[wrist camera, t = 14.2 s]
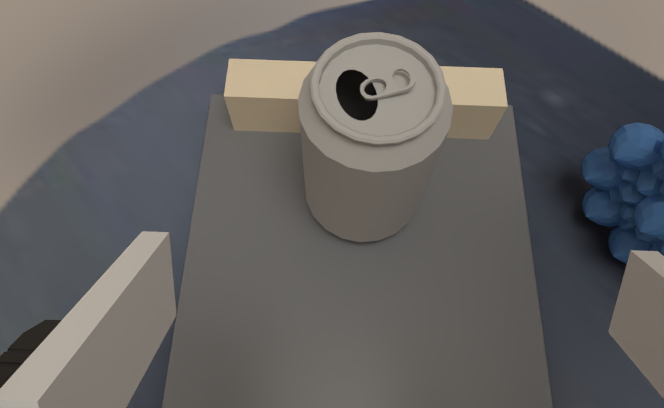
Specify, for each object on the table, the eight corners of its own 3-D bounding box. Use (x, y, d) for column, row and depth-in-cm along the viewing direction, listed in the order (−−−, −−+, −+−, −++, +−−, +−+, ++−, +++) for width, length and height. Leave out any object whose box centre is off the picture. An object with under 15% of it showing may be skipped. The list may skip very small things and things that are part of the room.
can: (294, 158, 35) (279, 33, 24) (397, 135, 36) (430, 5, 25) (320, 259, 32) (318, 170, 21) (432, 231, 33) (487, 132, 22)
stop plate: (507, 113, 38) (532, 69, 33) (549, 436, 29) (592, 438, 24) (214, 102, 38) (198, 57, 33) (164, 422, 29) (134, 421, 24)
